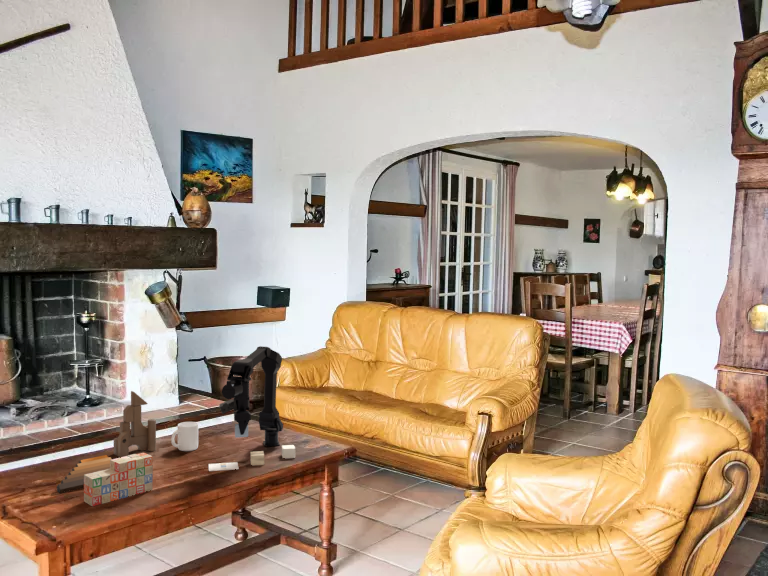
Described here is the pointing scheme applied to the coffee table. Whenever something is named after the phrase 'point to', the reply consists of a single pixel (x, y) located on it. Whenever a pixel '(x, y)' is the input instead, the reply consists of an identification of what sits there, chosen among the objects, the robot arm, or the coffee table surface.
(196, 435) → the mug
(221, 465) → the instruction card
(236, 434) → the blue brick
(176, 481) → the coffee table surface
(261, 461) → the beech brick
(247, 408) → the robot arm
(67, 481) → the pan flute
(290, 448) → the cream brick
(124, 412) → the wooden toy
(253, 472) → the coffee table surface
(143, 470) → the stack of blocks
